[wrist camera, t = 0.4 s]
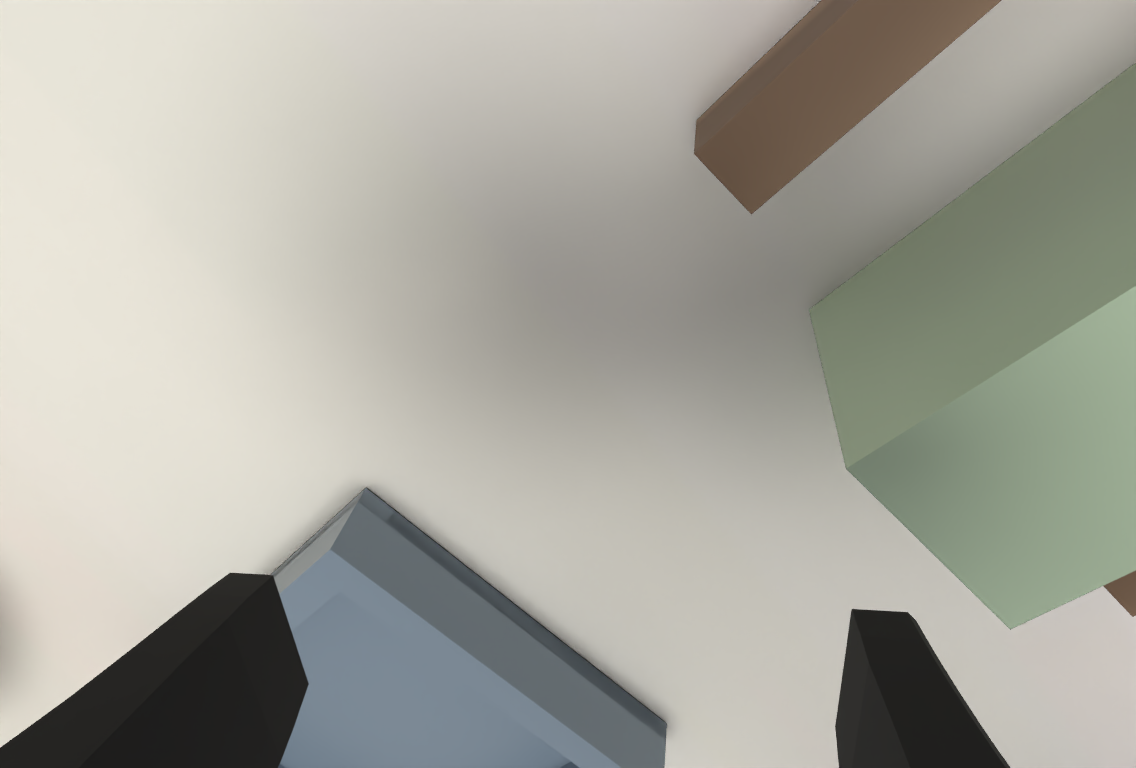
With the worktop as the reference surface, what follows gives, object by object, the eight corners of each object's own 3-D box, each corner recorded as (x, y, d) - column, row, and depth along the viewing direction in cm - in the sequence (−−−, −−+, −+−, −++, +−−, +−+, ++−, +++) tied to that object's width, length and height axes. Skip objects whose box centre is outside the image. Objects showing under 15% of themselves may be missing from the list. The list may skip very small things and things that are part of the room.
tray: (666, 723, 26) (662, 798, 24) (418, 854, 32) (397, 923, 30) (366, 487, 23) (330, 549, 21) (153, 681, 29) (108, 744, 26)
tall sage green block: (1302, 207, 16) (1585, 357, 11) (931, 435, 19) (1010, 629, 14) (1177, 29, 15) (1428, 101, 9) (808, 307, 18) (845, 468, 13)
